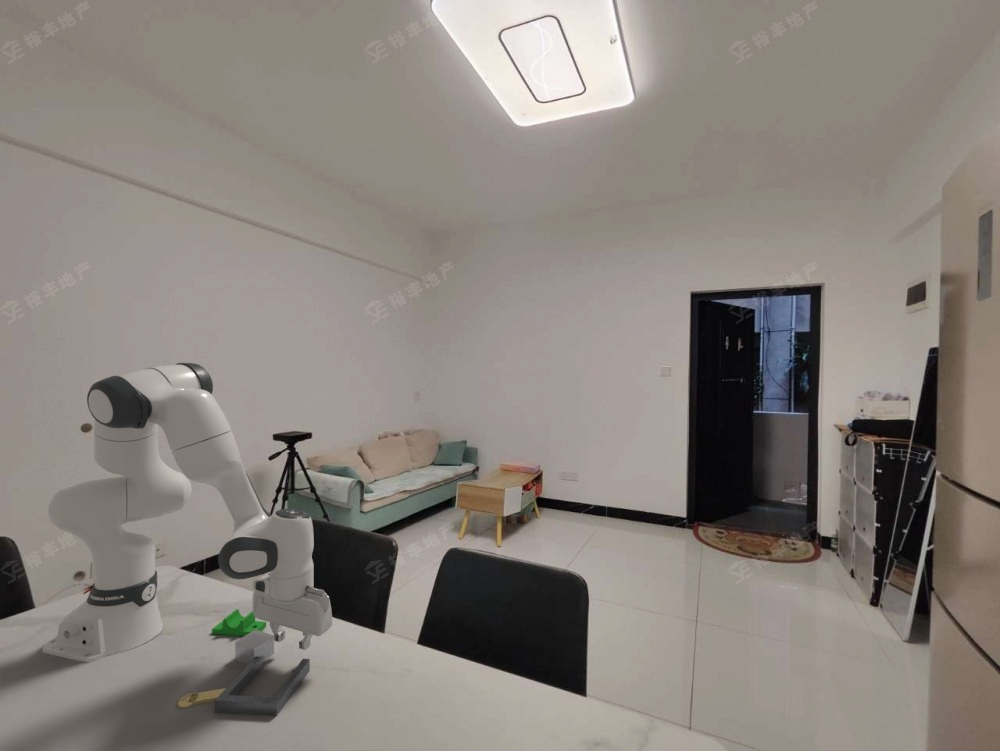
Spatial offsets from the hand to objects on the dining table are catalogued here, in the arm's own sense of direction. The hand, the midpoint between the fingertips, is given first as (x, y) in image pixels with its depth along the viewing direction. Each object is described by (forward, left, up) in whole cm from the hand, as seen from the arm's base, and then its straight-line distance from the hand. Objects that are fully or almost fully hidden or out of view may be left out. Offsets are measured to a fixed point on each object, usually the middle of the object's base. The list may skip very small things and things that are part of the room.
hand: (291, 644), depth 97 cm
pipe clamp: (-20, +14, -1) cm, 25 cm away
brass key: (-10, -12, -4) cm, 17 cm away
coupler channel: (0, -8, -4) cm, 9 cm away
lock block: (-9, 0, -4) cm, 10 cm away
